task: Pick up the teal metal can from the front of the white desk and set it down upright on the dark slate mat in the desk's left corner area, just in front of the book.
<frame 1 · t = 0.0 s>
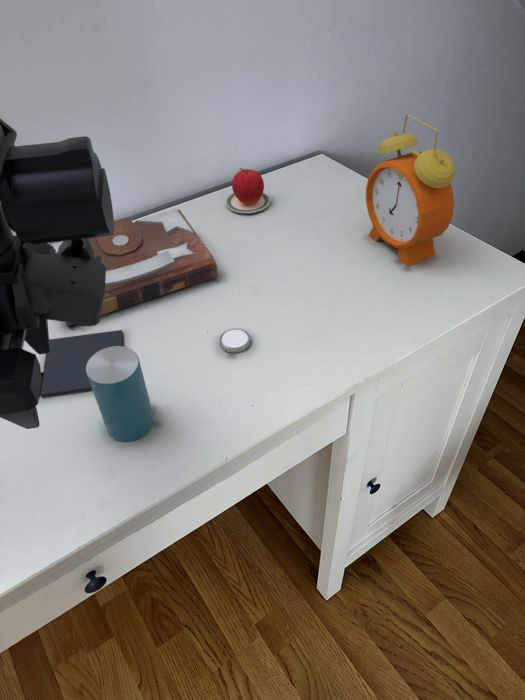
hand: (39, 387, 52), 14 cm above the table, tool pointing down, fingers open, 9 cm apart
apple: (247, 204, 101), on the table
alarm clock: (399, 246, 91), on the table
can: (130, 422, 67), on the table
book: (130, 276, 87), on the table
mat: (84, 363, 74), on the table
bottle cap: (235, 342, 76), on the table
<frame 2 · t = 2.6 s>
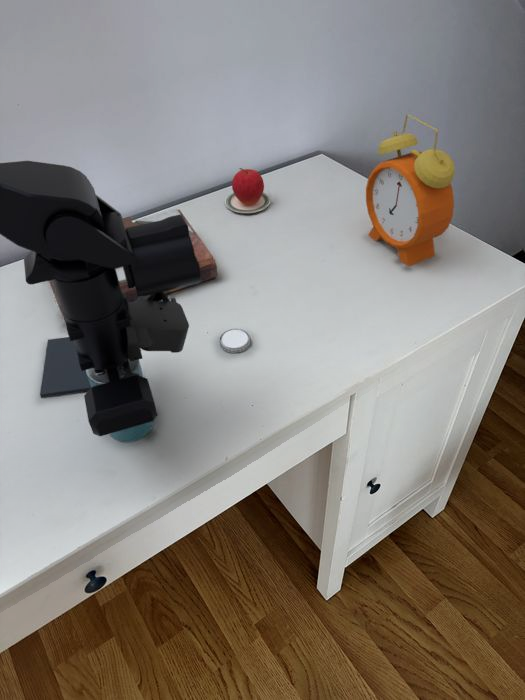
hand: (125, 406, 65), 3 cm above the table, tool pointing down, fingers closed on can, 5 cm apart
can: (130, 422, 67), on the table, touching gripper
everything else where it was.
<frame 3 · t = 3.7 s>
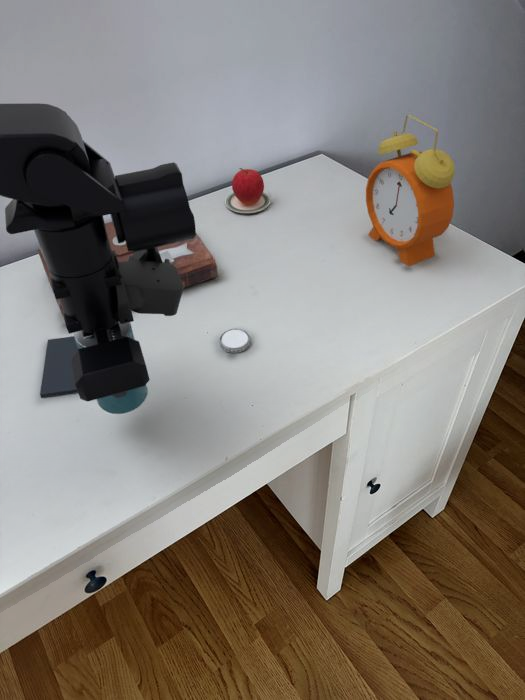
hand: (116, 376, 61), 8 cm above the table, tool pointing down, fingers closed on can, 5 cm apart
can: (122, 394, 63), point 5 cm above the table, touching gripper
everything else where it was.
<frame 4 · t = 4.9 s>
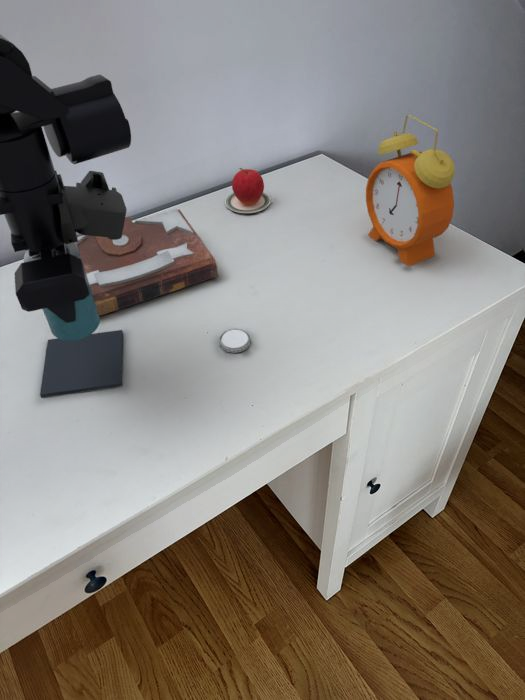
hand: (68, 304, 64), 12 cm above the table, tool pointing down, fingers closed on can, 5 cm apart
can: (75, 324, 66), point 9 cm above the table, touching gripper
everything else where it was.
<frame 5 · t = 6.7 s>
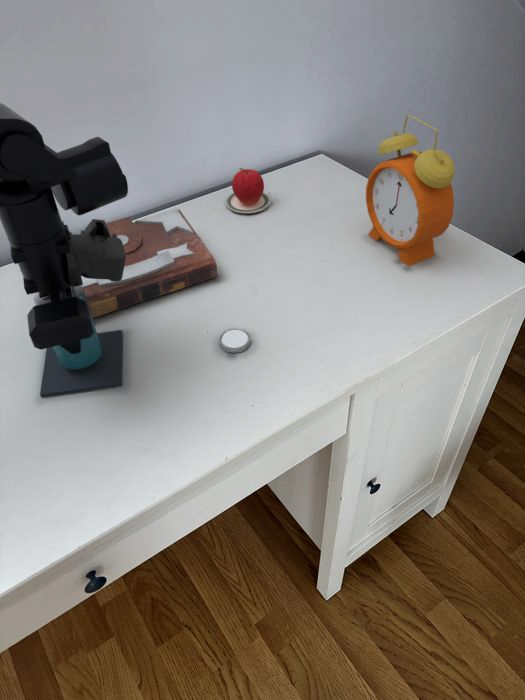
hand: (73, 337, 71), 5 cm above the table, tool pointing down, fingers closed on can, 5 cm apart
can: (80, 353, 73), point 2 cm above the table, touching gripper
everything else where it was.
when the fingers open (4 cm above the table, at t = 7.6 s): can stays where it is, resting on mat.
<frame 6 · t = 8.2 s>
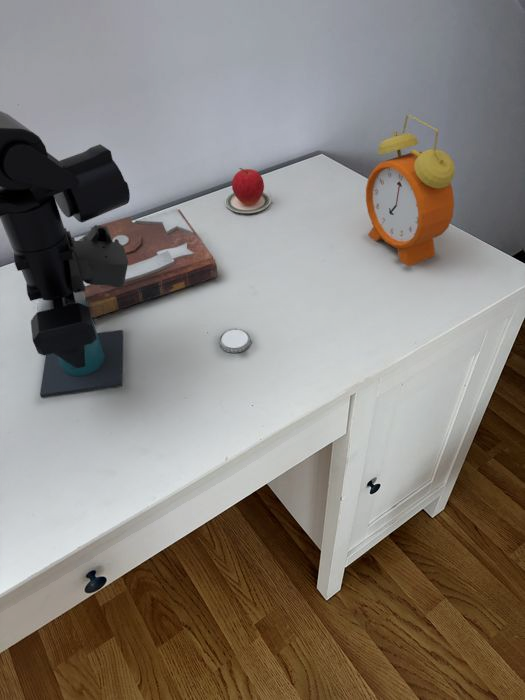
hand: (76, 341, 71), 4 cm above the table, tool pointing down, fingers open, 9 cm apart
can: (82, 360, 74), point 1 cm above the table, touching mat
everything else where it was.
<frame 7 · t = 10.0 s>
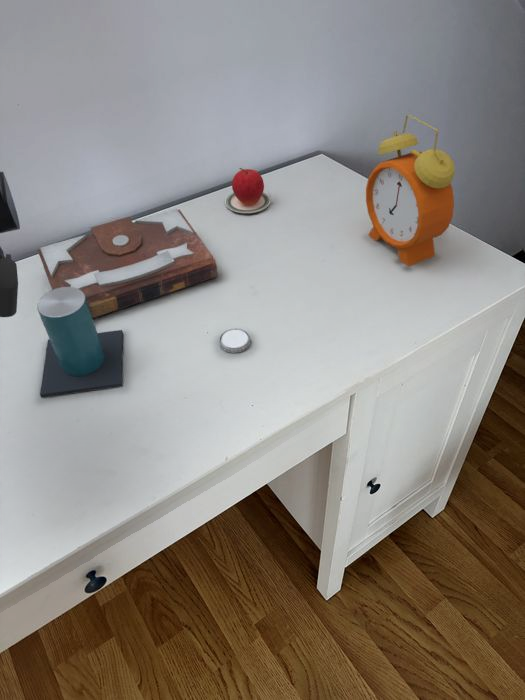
nothing on the table moved.
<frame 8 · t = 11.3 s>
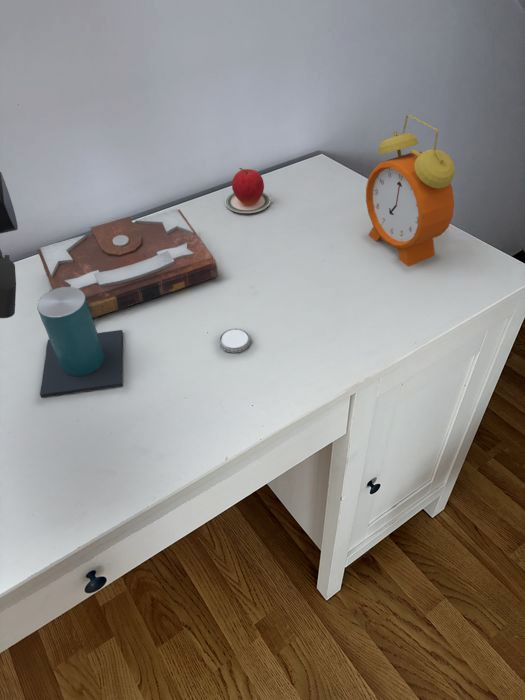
nothing on the table moved.
at the end: can 0.0 cm off-centre on the mat, point 0.6 cm above the mat's base; can tilted 0°; book moved 0.2 cm from its start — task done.
